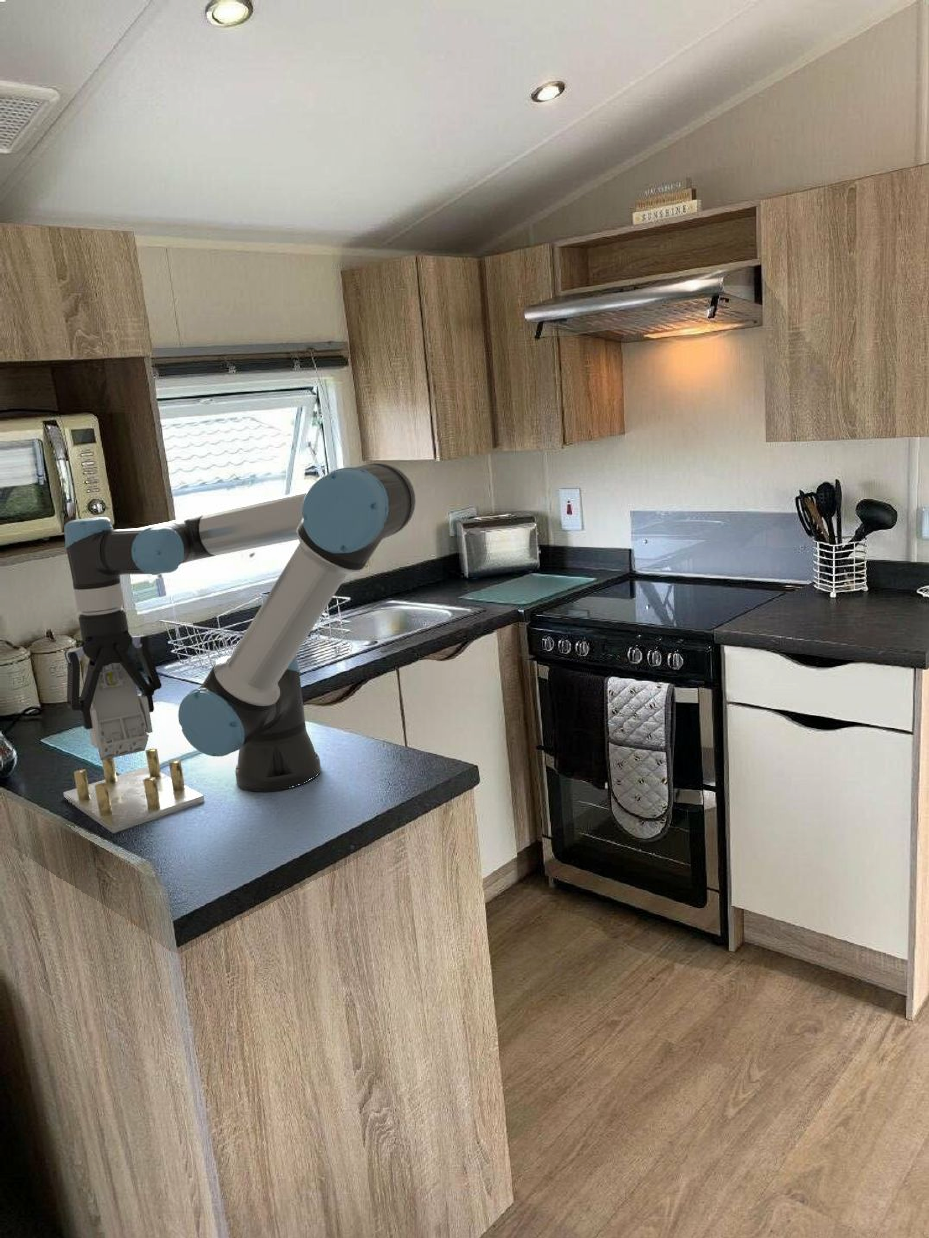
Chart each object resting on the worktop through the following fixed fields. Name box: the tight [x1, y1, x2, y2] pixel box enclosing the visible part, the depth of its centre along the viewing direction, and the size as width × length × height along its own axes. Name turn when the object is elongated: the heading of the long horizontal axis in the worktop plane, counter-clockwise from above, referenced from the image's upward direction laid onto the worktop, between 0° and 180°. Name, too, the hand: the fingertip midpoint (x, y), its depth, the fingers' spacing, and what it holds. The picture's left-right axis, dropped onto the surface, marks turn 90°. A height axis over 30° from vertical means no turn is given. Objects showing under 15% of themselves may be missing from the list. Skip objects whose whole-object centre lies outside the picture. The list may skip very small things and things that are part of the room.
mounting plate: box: [62, 748, 205, 834], centre depth 169 cm, size 23×16×6 cm
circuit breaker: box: [82, 663, 150, 761], centre depth 172 cm, size 8×14×15 cm
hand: (122, 738), depth 167 cm, fingers closed on circuit breaker, 8 cm apart
